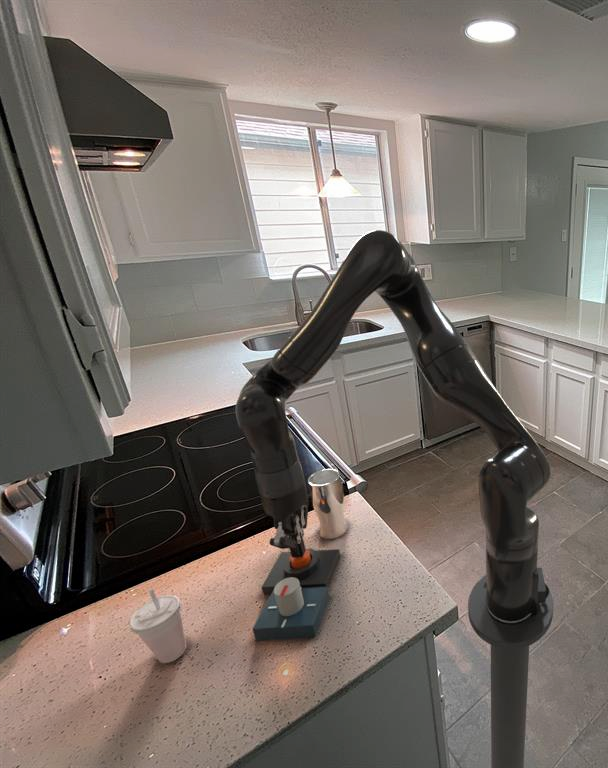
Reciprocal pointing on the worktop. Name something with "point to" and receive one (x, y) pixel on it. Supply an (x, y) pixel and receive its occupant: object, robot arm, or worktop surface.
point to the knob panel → (292, 617)
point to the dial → (289, 596)
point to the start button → (301, 560)
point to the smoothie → (160, 627)
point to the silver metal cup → (328, 502)
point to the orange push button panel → (304, 570)
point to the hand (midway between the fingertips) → (299, 554)
